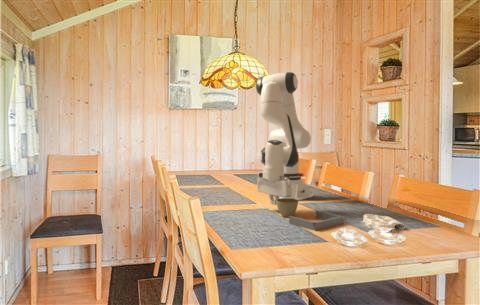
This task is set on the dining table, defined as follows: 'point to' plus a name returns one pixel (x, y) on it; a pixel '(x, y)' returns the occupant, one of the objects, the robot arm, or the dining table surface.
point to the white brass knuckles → (381, 222)
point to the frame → (327, 222)
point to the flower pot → (287, 206)
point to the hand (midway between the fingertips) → (273, 204)
